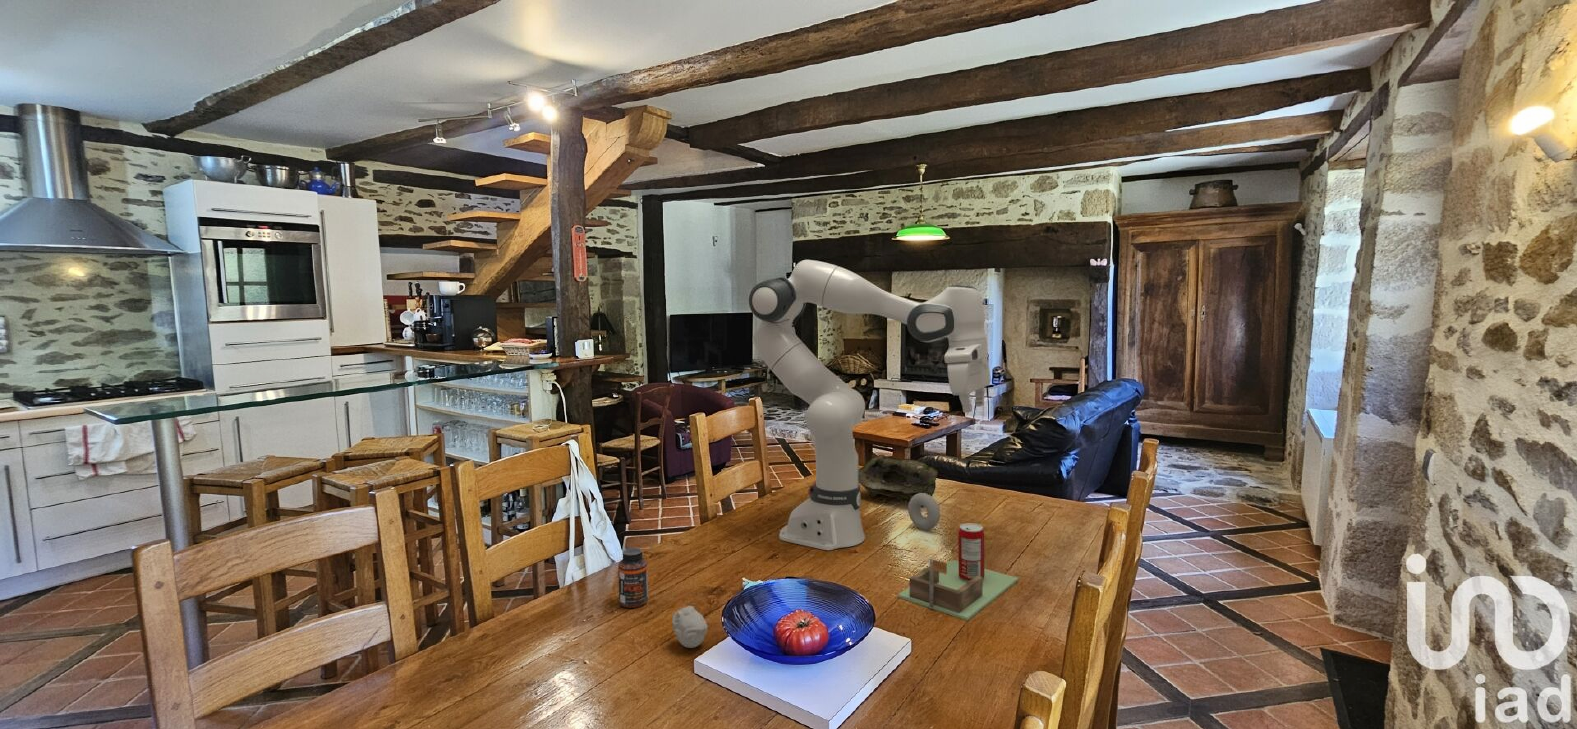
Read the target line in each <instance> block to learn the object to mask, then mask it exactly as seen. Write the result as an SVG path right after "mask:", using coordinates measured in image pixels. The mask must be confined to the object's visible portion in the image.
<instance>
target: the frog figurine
mask: <svg viewBox="0 0 1577 729" xmlns="http://www.w3.org/2000/svg"><path fill="white" fill-rule="evenodd" d="M671 625H672V628H673V632H674V635H676V637H677V638H676V639H677V641H678V642H679V644H681V645H682V646H683V647H684V648H689V649H694V648H696V647H698V646H700V645H701V644H702V642H703V641H704V640H705V636H706V634H707V633H708V628H709V627H708V624H707V621H706V620H705V618H704V616H703V615H702V614H701V613H700V612H699V611H698V610H696V609H695V607H694V606H692V605H688V606H686V607H682V608H680V609H679V610H677V611H675V613H674V614H673V616H672V621H671Z"/></svg>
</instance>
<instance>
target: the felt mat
mask: <svg viewBox="0 0 1577 729" xmlns="http://www.w3.org/2000/svg"><path fill="white" fill-rule="evenodd" d="M946 563H947V574H944V573H940V572H939V582H938V583H937V584H939V585H942V586H945V587H948V588H952V589H955V590H958V589H959V588H961V587H962V586H963V585H965V584H966V583H968V582H966V581H964V580H962V579H961V578H960V577H959V560H955V559H952V560H950V561H949V562H946ZM1018 581H1019V578H1018V577H1016V576H1012V575H1009V574H1005V573H1002V572H998V571H994V570H991V569H988V568H984V579H983V591H982V596H981V597H980V598H978V599H977V600H976V601H974V602H973V603H972V604H971V605H969V606H968V607H967V608H965V609H964V610H963V611H961V612H960V613H957V612H954V611H951V610H948V609H945V608H942V607H939V606H936V605H933V607H930V606H929V603H927V602H924V601H921V600H918V599H915V598H912V597H910V586H908V587H907V588H906V589H904V590H902V591H901V592H900V593H898V594H897V597H898V598H900V599H902V600H906V601H908V602H911V603H914V604H917V605H920V606H923V607H926V608H929V609H933V610H936V611H938V612H941V613H944V614H947V615H950V616H953V617H955V618H958V619H960V620H965V621H967V622H968V621H969V620H971V619H972V618H973V617H974V616H976V615H977V614H978V613H979V612H981V611H982V610H983V609H984V608H986V607H987V606H988V605H989V604H991V603H992V602H993V601H995V600H996V599H997V598H999V597H1000V596H1001V595H1003V593H1005V592H1006V591H1007V590H1009V589H1010V588H1011V587H1012V586H1014V584H1016V583H1017V582H1018Z"/></svg>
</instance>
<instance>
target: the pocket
mask: <svg viewBox="0 0 1577 729" xmlns="http://www.w3.org/2000/svg"><path fill="white" fill-rule="evenodd" d="M947 563H948V562H943V561H940V560H936V559H934V558H933V557H930V558H929V566H927V567H926V568H923V569H922V570H921V571H919V572H918V573H916V574H914V575H913V576H911V577H909V587H910V597H912V598H915V599H918V600H921V601H924V602H927V603H929V606H930V607H933V605H936V606H939V607H942V608H945V609H948V610H951V611H954V612H957V613H960V612H961V611H963V610H964V609H965V608H967V607H968V606H969V605H971V604H972V603H973V602H974V601H976V600H977V599H978V598H980V597H981V596H982V591H983V577H980V576H976V577H975V578H973V579H972V580H970V581H969V582H968V583H966V584H965V585H963V586H962V587H961V588H959V589H958V590H955V589H952V588H948V587H945V586H942V585H939V584H937V583H938V582H939V572H940V573H944V574H947Z"/></svg>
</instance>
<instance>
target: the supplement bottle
mask: <svg viewBox="0 0 1577 729" xmlns="http://www.w3.org/2000/svg"><path fill="white" fill-rule="evenodd" d="M617 568H618V569H617V570H618V599H619V600H618V601H619V605H620V606H622V607H623V608H627V609H636V608H639V607H642V606H644V605H645V604H646V603H648V601H649V593H648V592H649V590H648V589H649V586H648V584H649V582H648V562H647V560H646V559H645V558H644V557H643V550H642V549H641V548H639V547H630V548H629V547H628V548H626V549H624V550H623V551H622V559H621V560H619V563H618V566H617Z"/></svg>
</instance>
